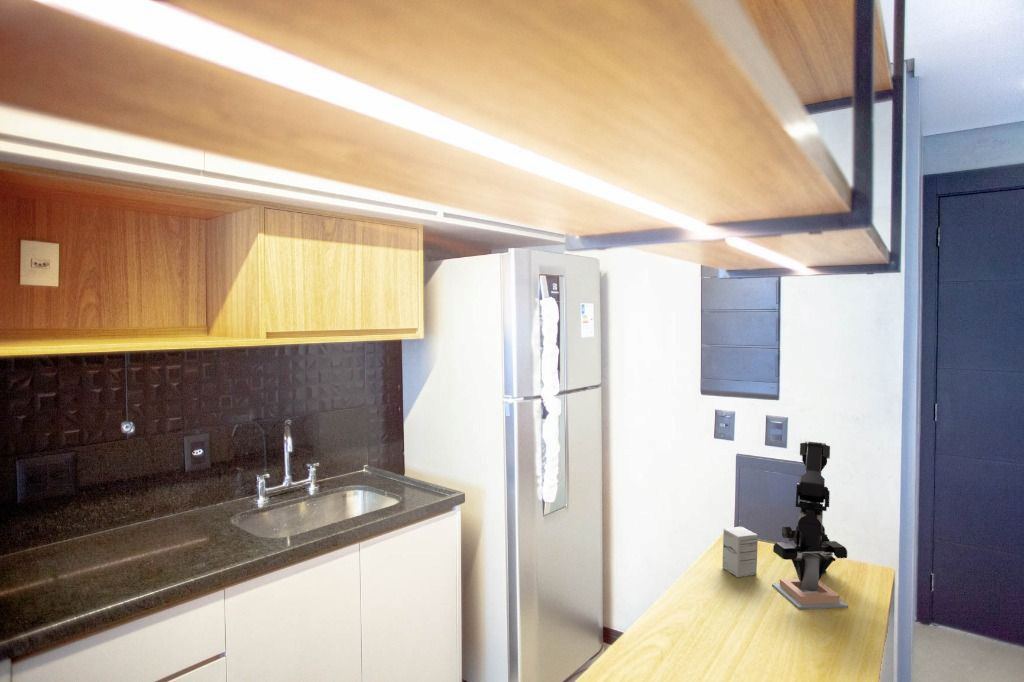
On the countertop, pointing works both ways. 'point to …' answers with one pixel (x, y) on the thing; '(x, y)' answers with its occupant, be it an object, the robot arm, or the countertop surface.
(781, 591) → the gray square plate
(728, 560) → the supplement box
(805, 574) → the grey rounded tapered cylinder
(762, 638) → the countertop surface
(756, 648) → the countertop surface
